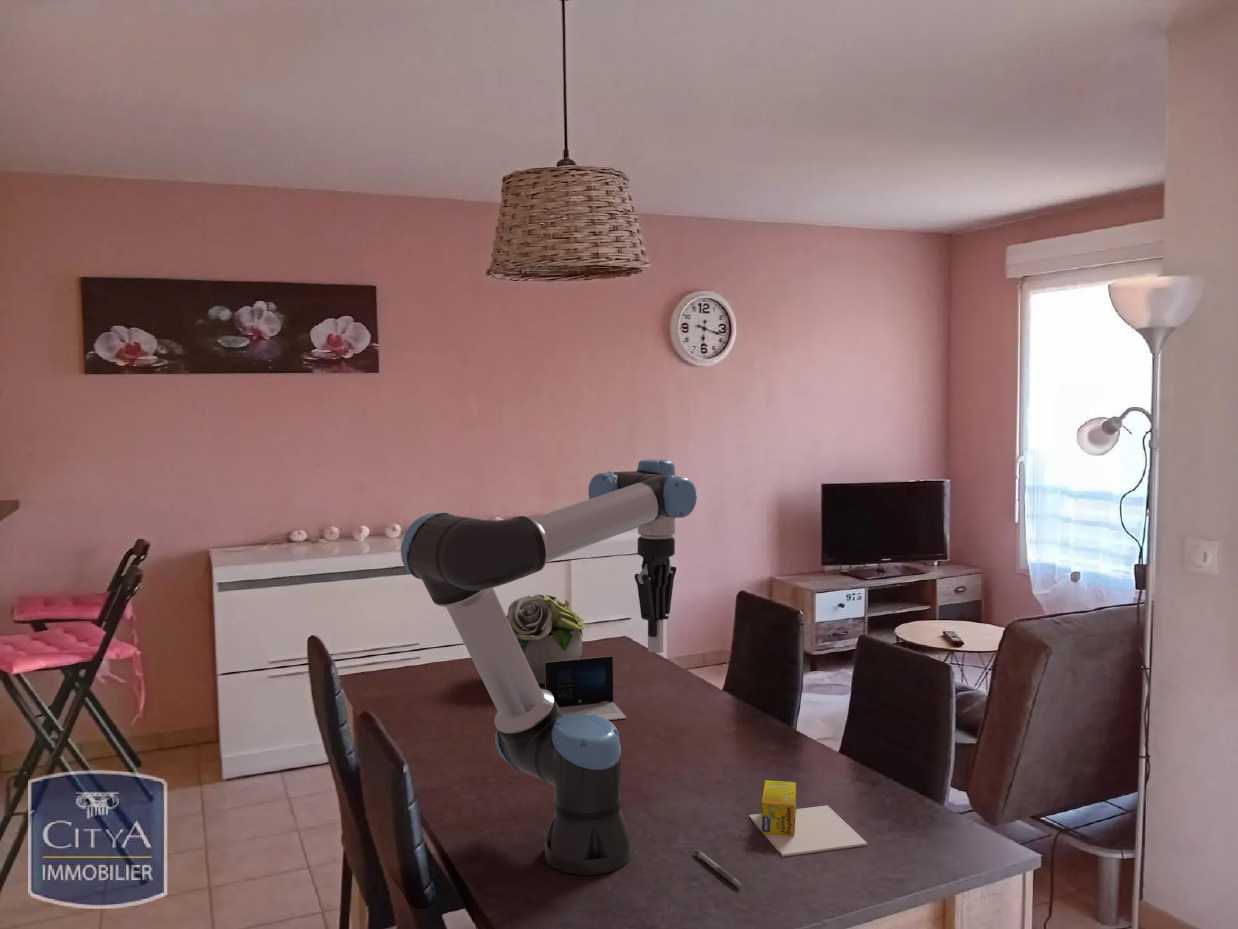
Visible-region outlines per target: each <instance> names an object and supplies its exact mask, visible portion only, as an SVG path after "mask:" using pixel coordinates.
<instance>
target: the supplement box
mask: <svg viewBox="0 0 1238 929" xmlns="http://www.w3.org/2000/svg"><path fill="white" fill-rule="evenodd" d="M760 802H761V803H760V804H761V814H762V832H761V833H762V834H763V833H766V834H779V835H791V836H794V834H795V820H796V809H797V781H796V780H786V779H785V780H784V779H773V778H765V779H764V786H763V792H762V797H761V801H760Z"/></svg>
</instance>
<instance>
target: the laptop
mask: <svg viewBox="0 0 1238 929" xmlns="http://www.w3.org/2000/svg"><path fill="white" fill-rule="evenodd" d="M544 688H545V690H548V691H549V692H551V693H552V695H553V697H554V699H555V701H556V703H557V705H558V707H559V709H560V712H561V713H562V715H563V716H566V715H569V714H577V713H583V714H587V715H597V716H600V717H603V718H605V719H607V720H608V721H610V720H611V721H617V720H618V719H620V720H625V719H627V718H628V717H627V716H626V714H624V713H623V712H622V710H621V709H620V707H618V705H616V704H615V701H614V698H615V697H614V694H615V693H614V656H613V655H607V656H595V657H586V658H585V657H584V658H580V659H572V660H561V661H550V662H545V684H544ZM611 721H610V722H611Z"/></svg>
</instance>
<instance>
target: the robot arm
mask: <svg viewBox="0 0 1238 929" xmlns="http://www.w3.org/2000/svg"><path fill="white" fill-rule="evenodd" d="M675 469H676V467H675V463H674V462H673V461H672V460H671V459H641V460H639V461H638V463H637V469H636V470H634V471H633V470H632V471H630V470H629V471H610V470H608V471H607V472H600V473H599V472H598V473H597V474H595V475H594V476H593V477H591V479H590V482H589V483H588V487H587V488H588V499H586V500H583V501H580V502H577V503H574V504H571V505H567V506H565V507H562V508H560V509H556V510H553V511H550V512H547V513H544V514H541V515H538V516H535V517H532V518H531V517H530V516H528V515H518V516H515V517H513V518H509V519H498V520H497V519H496V520H493V519H481V518H474V517H468V516H460V515H454V514H452V513H449V512H438V513H437V512H432V513H427V514H424V515H422V516H419V518H417V519H416V520H414V521H413V522H412V523H411V524H410V525H409V526H408V528H407V529H406V531H405V533H404V535H403V539H402V542H401V544H400V557H401V561H402V564H403V567H404V568H405V570H406V571H407V572H408V573H409V574H411V576H412V577H413V578H415V579H418V580H421V581H422V582H423V584H424V587H425V588H426V590H427V592H428V594H429V596H430V598H431V600H432V602H433V604H435V605H436V606H438V607H442V608H445V609H447V611H448V614H449V616H450V617H451V620H452V622H453V623H454V626H455V628H456V630H457V631H458V634H459V636H460V638H461V639H462V642H463V644H464V646H465V648H466V650H467V652H468V655H469V656H470V658H471V660H472V662H473V664H474V667H475V668H476V670H477V672H478V674H479V676H480V678H481V681H482V682H483V684H484V686H485V688H486V690H487V692H488V694H489V696H490V699H491V701H492V702H493V705H494V707H495V708H496V710H497V712H496V713H495V716H494V720H493V721H494V725H495V728H496V731H495V733H494V742H495V743H494V744H495V747H496V750H497V752H498V754H499V755H500V757H501V759H503V760H504V761H505V762H506V763H507V764H509V765H510V766H511V767H513V768H515V770H519V771H521V772H522V773H523V772H524V773H526V774H528V775H530V776H532V777H534V778H536V779H539V780H540V781H543V782H545V783H547V784H549V785H551V786H552V787H553V800H554V801H553V802H554V803H553V804H554V809H553V810H554V813H553V816H552V820H551V822H550V825H549V828H548V832H547V836H546V838H545V843H544V856H545V860H546V862H547V863H548V865H550V866H551V867H552V868H554V869H556V870H557V871H559V872H563V873H565V874H570V875H577V876H596V875H602V874H605V873H606V874H607V873H610V872H613V871H616V870H619V869H620V868H622V867H623V866H625V865H626V864H627V863H628V862H629V861H630V859H631V857H632V854H633V853H632V852H633V851H632V847H633V846H632V838H631V835H630V834H629V830H628V827H627V824H626V820H625V817H624V815H623V812H622V800H621V798H622V797H621V796H622V794H621V793H622V790H621V789H622V788H621V787H622V786H621V785H622V775H621V774H622V770H621V769H622V768H621V766H622V764H621V763H622V762H621V761H622V753H621V752H622V748H621V743H620V742H621V741H620V733H619V731H618V729H617V727H616V726H615V725H614V723H612V721H608V720H607V719H605V718H603V717H600V716H597V715H587V714H583V713H577V714H569V715H566V716H563V715H562V713H561V712H560V709H559V707H558V705H557V703H556V701H555V699H554V697H553V695H552V693H551V692H549V691H548V690H545V689H544V688H541V687H540V685H539V683H537V681H536V678H535V676H534V674H533V672H532V670H531V668H530V666H529V664H528V661H527V659H526V657H525V655H524V653H523V651H522V649H521V647H520V644H519V642H518V640H517V638H516V636H515V634H514V632H513V630H512V627H511V625H510V623H509V621H508V619H507V617H506V616H507V614H506V613H505V611H504V609H503V607H502V605H501V604H502V603H500V600H499V598H498V596H497V594H496V591H495V589H494V588H496V587H500V586H502V585H503V586H504V585H506V584H508V583H509V584H510V583H512V582H515V581H517V580H519V579H522V578H523V579H524V578H525V577H528V576H531V575H532V574H536V573H538V572H540V571H543V569H544V568H545V566H546V564H547V563H548V562H550V561H553V560H555V559H557V558H560V557H563V556H565V555H568V554H571V553H573V552H575V551H579V550H581V549H584V548H587V547H589V546H591V545H595V544H598V543H600V542H603V541H605V540H608V539H610V538H613V537H615V536H618V535H621V534H623V533H626V532H629V531H631V530H635V529H636V528H637V534H638V535H640V536H639V537H638V538H637V555H639V556H640V557H642V564H641V571H640V573H635V574H634V581H635V582H636V586H637V593H638V594H637V595H638V599H639V601H638V602H639V608H640V609H639V610H640V615H641V619H642V620H644V621H647V652H649V653H655V654H656V653H657V654H660V653H663V652H664V620H668V619H669V616H670V615H669V614H670V612H671V606H672V605H671V604H672V598H673V597H672V596H673V589H674V588H673V587H674V581H675V580H674V579H675V576H676V573H677V567H676V566H672V565H671V560H670V558H671V557H673V556H674V555H675V553H676V551H675V550H676V549H675V548H676V547H675V546H676V543H675V542H676V539H675V538H674V536H675V534H676V519H680V518H683V519H684V518H686V517H688V516H690V514H691V513H692V512H693V511H694V509H695V507H696V504H697V501H698V500H697V499H698V498H697V489H696V487H695V484H694V483H693V482H692V481H691V480H690V479H689V478H687V477H683V476H679V475H676V470H675Z"/></svg>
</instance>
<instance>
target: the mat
mask: <svg viewBox="0 0 1238 929" xmlns="http://www.w3.org/2000/svg"><path fill="white" fill-rule="evenodd" d="M748 818H751V819H750V820H751V821H752V822H753V823H754V825H755V826H756V827H757V828H758V829H759V830H760V831H761V833H762V813H756V814H755V813H753V814H749V815H748ZM762 834H763V836H765V838H766V839H767V840H768V841H769V842H770V844H771V845H772V846H773V847H774V848H775V850H776V851H777V852H778V853H779V854H780V855H781V857H782V858H783V857H791V856H797V855H798V856H799V855H805V854H813V853H819V852H821V853H822V852H826V851H829V852H830V851H834V850H842V849H849V848H856V847H857V848H858V847H864V846H868V842H867V841H866V840H864V838H862V836H860V834H858V833H857V832H856V831H855V830H854V829H853V828H852V827H851V826H850V825H849V824H848V823H847V822H845V821H844V820H843V818H841V817H840V816H839V815H838V814H837V813H836V812H835V811H834V810H833V809H832V808H831V807H830V806H829V805H818V806H813V807H812V806H811V807H805V808H804V807H803V808H796V820H795V834H794V836H791V835H779V834H766V833H762Z"/></svg>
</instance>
